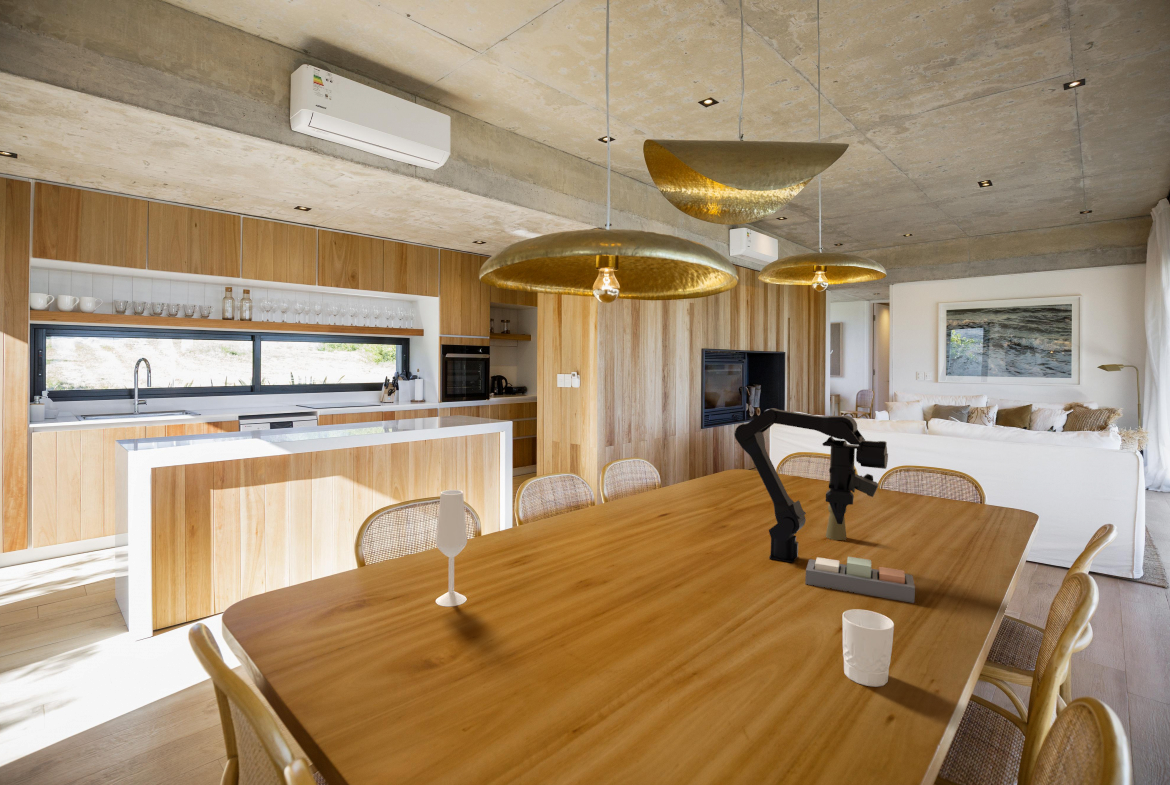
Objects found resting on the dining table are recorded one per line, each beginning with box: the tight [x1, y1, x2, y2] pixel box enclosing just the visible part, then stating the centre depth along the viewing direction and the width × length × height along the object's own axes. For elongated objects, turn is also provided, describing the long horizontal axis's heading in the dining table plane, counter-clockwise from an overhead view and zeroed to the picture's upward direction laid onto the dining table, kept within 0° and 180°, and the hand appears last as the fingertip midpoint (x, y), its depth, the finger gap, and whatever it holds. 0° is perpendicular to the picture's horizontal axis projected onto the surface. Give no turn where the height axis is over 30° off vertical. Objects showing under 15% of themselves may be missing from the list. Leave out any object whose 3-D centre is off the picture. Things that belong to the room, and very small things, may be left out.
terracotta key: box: [878, 566, 906, 584], centre depth 135 cm, size 5×5×4 cm
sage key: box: [846, 556, 872, 578], centre depth 138 cm, size 5×5×4 cm
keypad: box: [804, 558, 916, 604], centre depth 138 cm, size 23×9×4 cm, turn 64°
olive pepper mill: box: [825, 504, 848, 541], centre depth 178 cm, size 6×6×11 cm
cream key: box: [815, 556, 840, 573], centre depth 142 cm, size 5×5×4 cm
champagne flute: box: [435, 489, 468, 607], centre depth 126 cm, size 7×7×24 cm
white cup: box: [842, 608, 895, 688], centre depth 98 cm, size 8×8×10 cm
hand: (839, 523), depth 150 cm, fingers closed
